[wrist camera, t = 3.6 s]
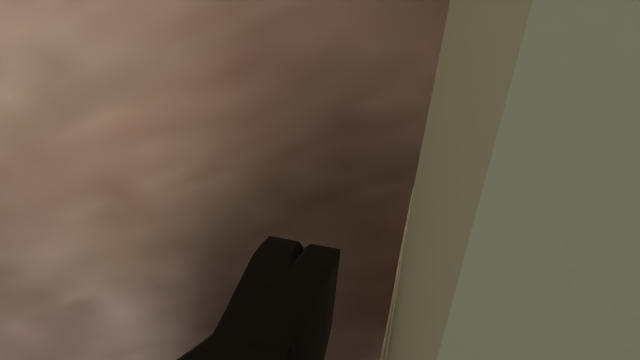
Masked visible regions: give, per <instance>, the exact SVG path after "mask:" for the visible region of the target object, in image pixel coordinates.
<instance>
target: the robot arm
mask: <svg viewBox="0 0 640 360" xmlns="http://www.w3.org/2000/svg"><path fill="white" fill-rule="evenodd" d="M339 257H340V249H336V248H330V247H325V246H319V245H314V244H310V245H309V246H307V247H305V248H304V250H303V246H302V245H301V244H300V243H299V242H298V241H293V240H287V239H282V238H276V237H271V236H269V237H268V238H267V239H266V240H265V241H264V242H263V243H262V244H261V246H260V247H259V248H258V249H257V251H256V252H255V253H254V254H253V256H252V258H251V260H250V262H249V264H248V266H247V268H246V270H245V272H244V274H243V276H242V278H241V280H240V282H239V284H238V286H237V288H236V290H235V292H234V294H233V296H232V298H231V300H230V302H229V304H228V306H227V308H226V310H225V312H224V314H223V316H222V318H221V320H220V322H219V324H218V326H217V327H216V329H215V331H214V333H213V334H212V335H211V336H209V337H208V338H207V339H205V340H204V341H203V342H201V343H200V344H199V345H197V346H196V347H194V348H193V349H192V350H190V351H189V352H187V353H186V354H184V355H183V356H181V357H180V358H179V359H177V360H324V356H325V352H326V347H327V343H328V339H329V334H330V330H331V325H332V317H333V308H334V300H335V291H336V283H337V274H338V266H339Z"/></svg>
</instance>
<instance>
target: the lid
mask: <svg viewBox="0 0 640 360" xmlns="http://www.w3.org/2000/svg"><path fill="white" fill-rule="evenodd" d="M380 360H640V0H450V4H449V9H448V14H447V19H446V24H445V29H444V34H443V39H442V45H441V50H440V55H439V60H438V65H437V70H436V75H435V80H434V86H433V91H432V96H431V101H430V106H429V111H428V116H427V121H426V126H425V132H424V137H423V142H422V147H421V152H420V157H419V162H418V167H417V173H416V178H415V183H414V188H413V189H412V194H411V199H410V204H409V209H408V214H407V220H406V225H405V230H404V235H403V240H402V245H401V250H400V256H399V261H398V266H397V272H396V278H395V283H394V289H393V295H392V301H391V306H390V311H389V316H388V321H387V326H386V331H385V337H384V342H383V347H382V352H381V357H380Z"/></svg>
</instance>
